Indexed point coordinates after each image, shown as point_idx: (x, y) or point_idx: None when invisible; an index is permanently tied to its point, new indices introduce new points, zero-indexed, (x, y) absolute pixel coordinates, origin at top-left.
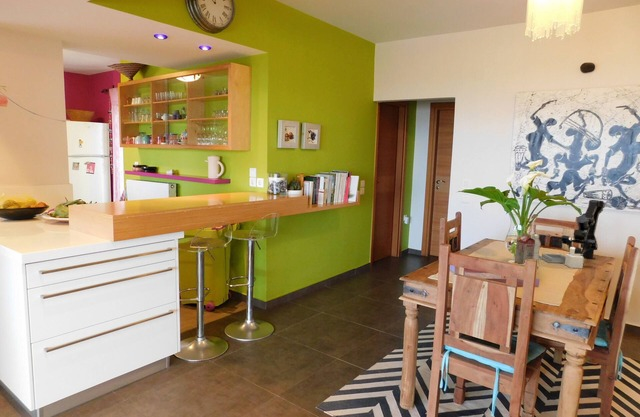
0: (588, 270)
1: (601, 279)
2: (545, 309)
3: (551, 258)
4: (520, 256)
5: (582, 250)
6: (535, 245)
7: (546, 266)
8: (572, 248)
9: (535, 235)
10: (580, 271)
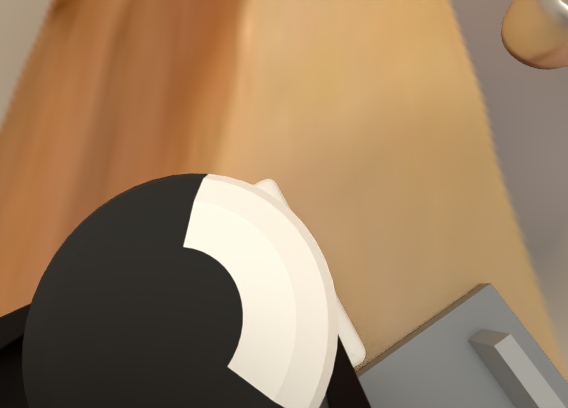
0: None
1: (69, 17)
2: None
3: (502, 338)
4: None
5: (17, 318)
6: None
7: (455, 131)
8: (264, 196)
9: None
10: (191, 147)
